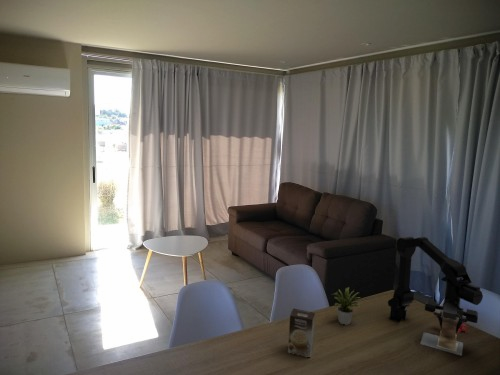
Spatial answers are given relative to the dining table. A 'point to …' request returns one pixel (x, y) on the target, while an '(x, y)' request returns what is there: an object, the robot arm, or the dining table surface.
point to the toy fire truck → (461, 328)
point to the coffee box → (301, 332)
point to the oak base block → (447, 341)
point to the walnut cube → (449, 327)
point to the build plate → (434, 342)
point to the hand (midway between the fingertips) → (448, 330)
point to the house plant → (346, 306)
